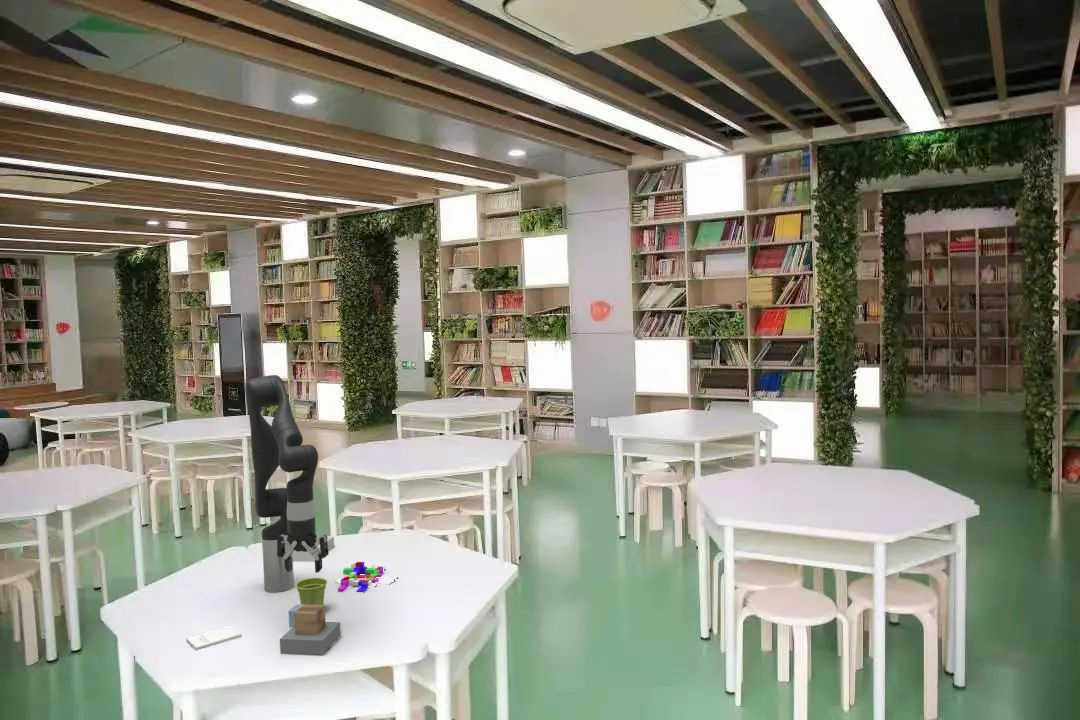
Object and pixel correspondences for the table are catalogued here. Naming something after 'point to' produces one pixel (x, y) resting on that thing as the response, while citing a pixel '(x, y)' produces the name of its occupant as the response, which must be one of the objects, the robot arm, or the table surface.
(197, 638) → the external hard drive
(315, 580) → the plant pot
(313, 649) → the base plinth
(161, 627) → the table surface
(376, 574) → the building block set
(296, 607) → the blue cube
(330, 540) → the corral
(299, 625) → the walnut cube
